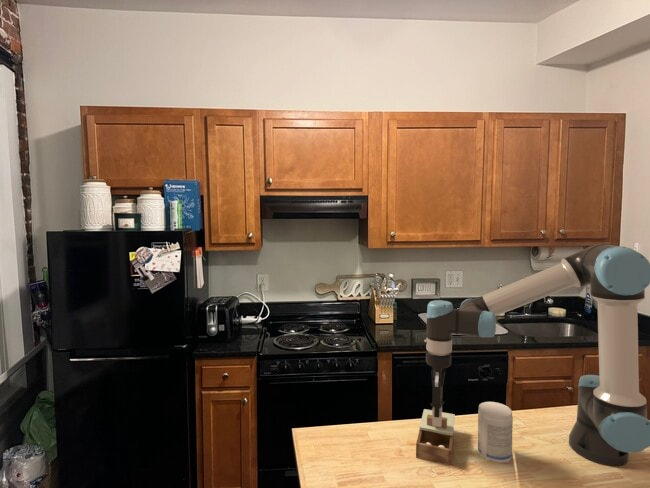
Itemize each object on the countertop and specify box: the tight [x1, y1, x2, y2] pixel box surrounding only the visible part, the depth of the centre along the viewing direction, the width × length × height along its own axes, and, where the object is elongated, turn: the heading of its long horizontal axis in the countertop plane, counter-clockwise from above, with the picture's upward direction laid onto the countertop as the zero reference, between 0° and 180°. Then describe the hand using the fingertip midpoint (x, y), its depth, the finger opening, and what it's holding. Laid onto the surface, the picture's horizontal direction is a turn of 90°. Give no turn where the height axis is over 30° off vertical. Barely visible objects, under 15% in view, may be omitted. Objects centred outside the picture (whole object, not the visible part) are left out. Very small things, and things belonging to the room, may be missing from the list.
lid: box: [419, 408, 456, 437], centre depth 127 cm, size 10×12×3 cm
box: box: [415, 429, 454, 466], centre depth 120 cm, size 10×12×5 cm
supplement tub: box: [477, 401, 514, 464], centre depth 119 cm, size 10×10×15 cm
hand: (436, 424), depth 122 cm, fingers closed
